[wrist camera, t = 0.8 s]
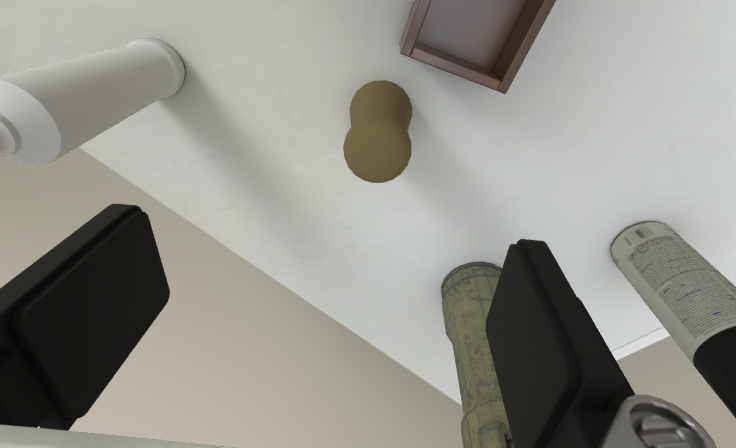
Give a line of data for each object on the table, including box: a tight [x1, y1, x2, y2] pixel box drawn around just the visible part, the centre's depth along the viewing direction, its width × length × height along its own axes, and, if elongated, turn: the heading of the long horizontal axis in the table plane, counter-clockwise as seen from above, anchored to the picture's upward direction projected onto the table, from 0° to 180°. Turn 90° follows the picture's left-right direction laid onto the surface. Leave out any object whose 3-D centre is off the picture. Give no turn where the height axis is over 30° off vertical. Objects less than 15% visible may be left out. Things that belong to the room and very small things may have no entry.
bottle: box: [0, 38, 185, 166], centre depth 25 cm, size 5×5×25 cm
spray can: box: [611, 222, 736, 418], centre depth 35 cm, size 7×7×20 cm
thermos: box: [441, 262, 514, 448], centre depth 34 cm, size 9×12×35 cm
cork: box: [344, 81, 412, 183], centre depth 32 cm, size 6×6×11 cm
